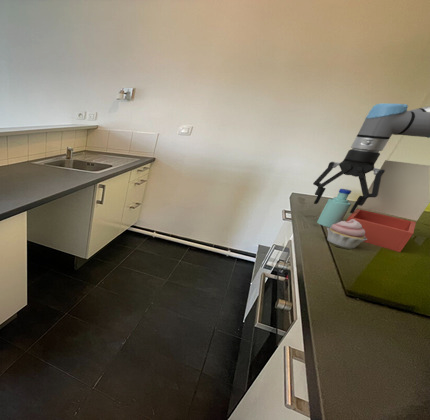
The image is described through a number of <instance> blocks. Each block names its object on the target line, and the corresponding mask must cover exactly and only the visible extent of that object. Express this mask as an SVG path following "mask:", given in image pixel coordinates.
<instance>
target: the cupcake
mask: <svg viewBox="0 0 430 420" xmlns="http://www.w3.org/2000/svg"><path fill="white" fill-rule="evenodd" d="M326 230H327V238H326V240H327V241H328V242H329V243H331V244H332V246H333V247H334V248H335V247H336V248H338V249H341V250H347V251H351V249H355V248H356V247H358V246H359V245H360V244H362V243H364V242H363V241H365V240H367V238H365V236H364V235H365V230H364V229H363V228H362V225H361V224H360V223H359V222H357V221H356V220H354V219H351V220H350V221H347V220H342V221H340V222H338V223H336V224H333V225H332V226H331V227H326Z"/></svg>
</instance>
